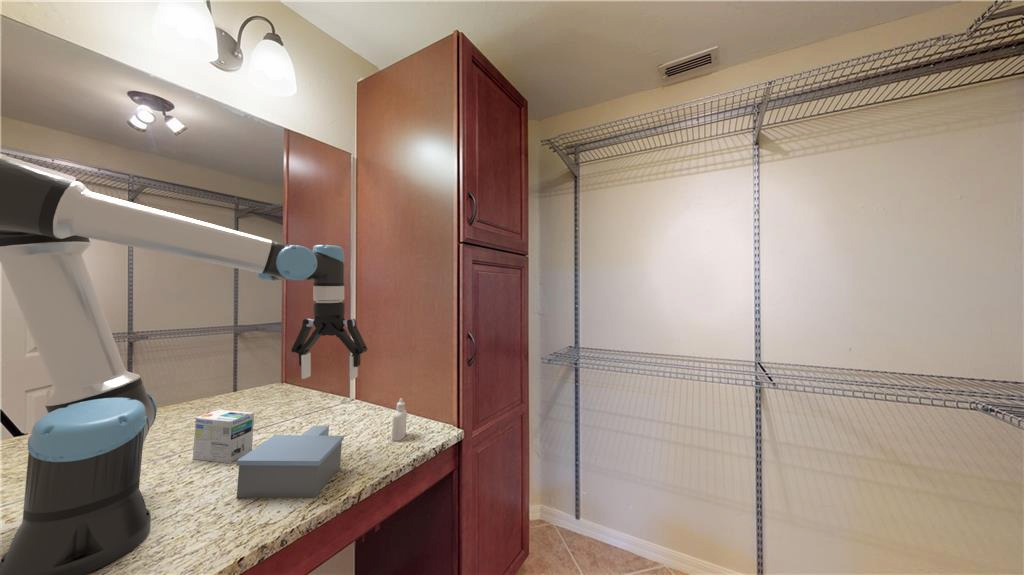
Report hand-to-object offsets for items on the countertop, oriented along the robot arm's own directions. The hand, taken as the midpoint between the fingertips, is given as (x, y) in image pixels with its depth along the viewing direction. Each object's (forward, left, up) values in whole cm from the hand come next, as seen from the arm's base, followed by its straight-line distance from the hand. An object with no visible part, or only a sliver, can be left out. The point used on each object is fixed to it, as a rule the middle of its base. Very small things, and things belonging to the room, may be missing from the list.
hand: (329, 377), depth 90 cm
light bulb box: (-25, -2, -21) cm, 32 cm away
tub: (-1, -14, -20) cm, 25 cm away
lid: (-1, -11, -15) cm, 19 cm away
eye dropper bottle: (+17, +10, -21) cm, 29 cm away
